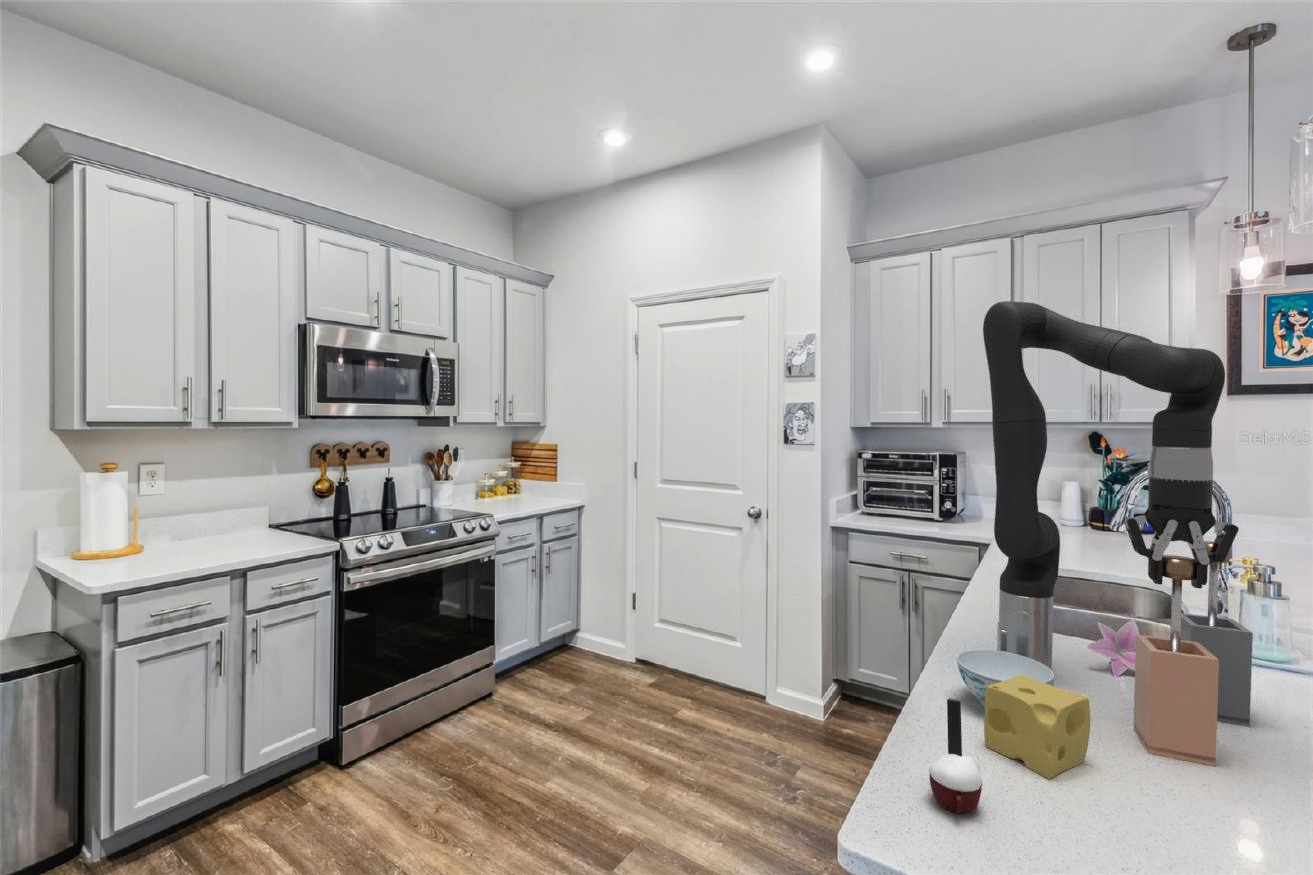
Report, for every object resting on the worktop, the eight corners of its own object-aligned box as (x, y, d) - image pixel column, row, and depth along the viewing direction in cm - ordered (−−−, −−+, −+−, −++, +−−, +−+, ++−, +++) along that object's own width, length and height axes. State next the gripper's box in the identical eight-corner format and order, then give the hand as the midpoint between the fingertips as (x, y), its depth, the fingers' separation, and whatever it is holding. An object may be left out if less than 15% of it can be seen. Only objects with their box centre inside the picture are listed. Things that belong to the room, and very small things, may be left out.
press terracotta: (1148, 753, 93) (1150, 650, 92) (1133, 729, 100) (1136, 634, 99) (1215, 766, 89) (1218, 660, 89) (1195, 740, 96) (1198, 642, 96)
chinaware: (937, 697, 111) (938, 656, 111) (993, 684, 117) (994, 644, 117) (1013, 736, 97) (1014, 689, 97) (1072, 719, 103) (1074, 674, 103)
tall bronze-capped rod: (1198, 637, 105) (1201, 544, 104) (1187, 628, 109) (1190, 539, 109) (1237, 642, 102) (1240, 547, 102) (1224, 632, 107) (1227, 542, 107)
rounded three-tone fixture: (969, 833, 75) (973, 741, 74) (917, 808, 79) (921, 721, 78) (991, 796, 82) (996, 711, 81) (943, 775, 86) (946, 695, 85)
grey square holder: (1188, 716, 104) (1191, 625, 104) (1172, 697, 112) (1175, 612, 111) (1249, 726, 101) (1252, 632, 101) (1229, 706, 108) (1232, 618, 108)
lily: (1074, 672, 126) (1092, 641, 121) (1082, 636, 134) (1099, 606, 129) (1144, 704, 119) (1166, 672, 114) (1147, 665, 127) (1168, 634, 122)
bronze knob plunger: (1159, 663, 93) (1162, 559, 92) (1148, 652, 98) (1151, 553, 97) (1202, 670, 91) (1205, 563, 90) (1189, 658, 95) (1192, 556, 95)
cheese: (1050, 781, 85) (1052, 712, 85) (979, 745, 95) (980, 682, 94) (1090, 763, 90) (1092, 697, 90) (1019, 730, 100) (1020, 670, 99)
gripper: (1129, 476, 93) (1126, 585, 94) (1252, 480, 87) (1248, 597, 87) (1117, 472, 100) (1114, 574, 100) (1229, 476, 94) (1226, 585, 94)
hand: (1176, 584), depth 94 cm, fingers open, 4 cm apart
